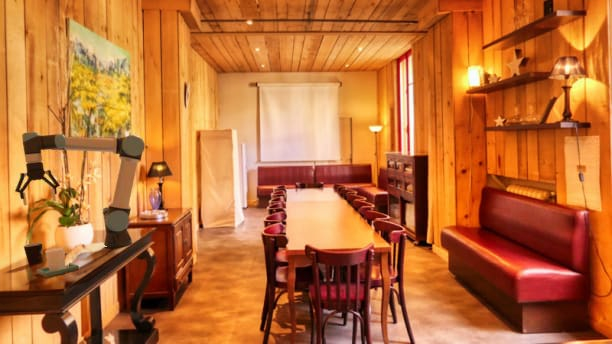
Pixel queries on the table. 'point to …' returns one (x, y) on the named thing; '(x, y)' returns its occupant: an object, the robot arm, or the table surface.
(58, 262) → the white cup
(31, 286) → the table surface
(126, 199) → the robot arm
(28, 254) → the coffee mug
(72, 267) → the tray
